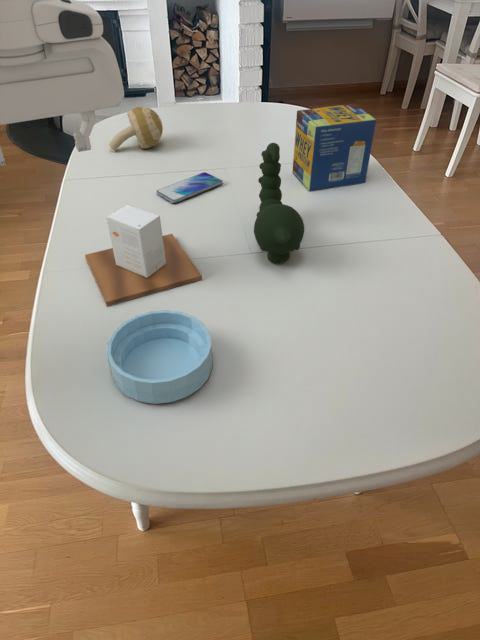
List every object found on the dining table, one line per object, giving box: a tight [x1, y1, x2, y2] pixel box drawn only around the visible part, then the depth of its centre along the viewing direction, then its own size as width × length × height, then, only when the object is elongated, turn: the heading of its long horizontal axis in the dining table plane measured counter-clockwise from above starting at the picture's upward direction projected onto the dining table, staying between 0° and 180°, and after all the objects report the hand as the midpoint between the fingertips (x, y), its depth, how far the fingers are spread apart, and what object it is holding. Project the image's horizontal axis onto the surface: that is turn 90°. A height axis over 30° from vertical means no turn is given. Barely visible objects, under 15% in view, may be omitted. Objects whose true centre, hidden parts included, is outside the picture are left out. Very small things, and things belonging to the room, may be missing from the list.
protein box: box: [292, 103, 377, 192], centre depth 123 cm, size 10×15×16 cm
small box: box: [106, 204, 166, 278], centre depth 95 cm, size 8×6×10 cm
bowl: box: [106, 309, 213, 405], centre depth 78 cm, size 15×15×5 cm
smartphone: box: [156, 171, 223, 204], centre depth 123 cm, size 7×1×15 cm
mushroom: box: [107, 106, 164, 152], centre depth 138 cm, size 10×11×15 cm
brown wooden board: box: [84, 233, 203, 307], centre depth 99 cm, size 18×16×1 cm
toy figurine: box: [253, 142, 305, 265], centre depth 100 cm, size 9×19×25 cm
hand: (42, 156), depth 59 cm, fingers open, 8 cm apart
